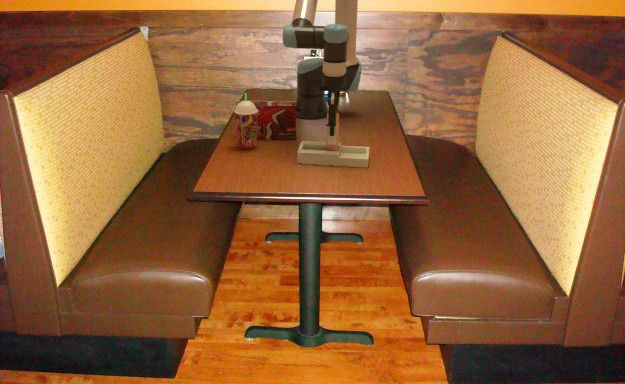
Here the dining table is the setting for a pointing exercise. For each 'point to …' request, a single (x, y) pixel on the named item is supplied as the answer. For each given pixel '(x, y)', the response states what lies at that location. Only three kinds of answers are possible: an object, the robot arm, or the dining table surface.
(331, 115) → the robot arm
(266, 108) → the ice cream box
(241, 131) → the smoothie
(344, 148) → the slot board
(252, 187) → the dining table surface
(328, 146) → the peg
